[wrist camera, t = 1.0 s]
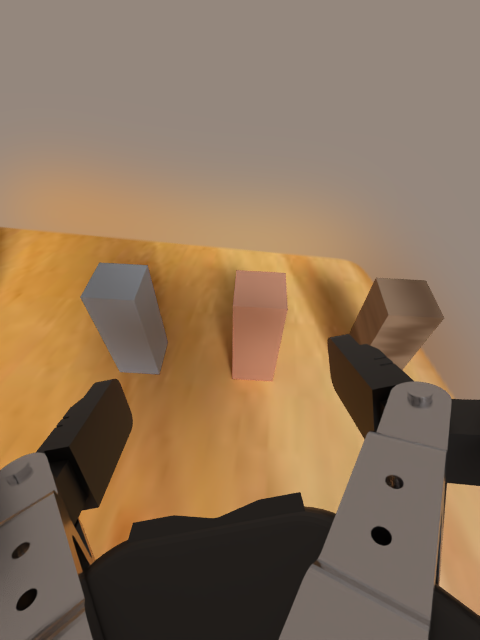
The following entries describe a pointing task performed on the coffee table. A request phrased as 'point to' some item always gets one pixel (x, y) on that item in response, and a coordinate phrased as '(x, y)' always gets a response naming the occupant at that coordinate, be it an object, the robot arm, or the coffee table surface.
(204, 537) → the robot arm
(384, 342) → the pillar walnut
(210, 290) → the coffee table surface
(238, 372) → the pillar terracotta
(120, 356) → the pillar slate
